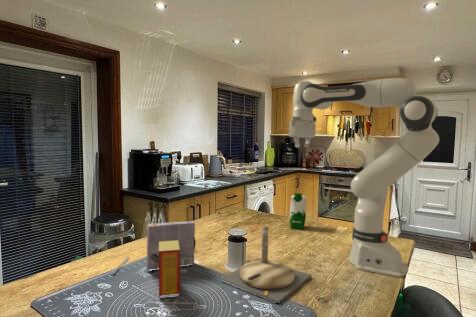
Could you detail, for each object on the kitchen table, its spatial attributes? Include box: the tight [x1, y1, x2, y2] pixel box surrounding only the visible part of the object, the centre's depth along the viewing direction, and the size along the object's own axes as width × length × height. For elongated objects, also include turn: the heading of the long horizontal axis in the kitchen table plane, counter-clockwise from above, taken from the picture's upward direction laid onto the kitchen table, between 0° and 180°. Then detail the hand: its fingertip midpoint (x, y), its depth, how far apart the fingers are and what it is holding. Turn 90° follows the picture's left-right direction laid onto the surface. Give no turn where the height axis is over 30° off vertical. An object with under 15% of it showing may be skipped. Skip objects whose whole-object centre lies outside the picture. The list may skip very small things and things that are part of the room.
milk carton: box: [289, 192, 307, 231], centre depth 177 cm, size 9×9×20 cm
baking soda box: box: [158, 240, 181, 296], centre depth 104 cm, size 10×6×16 cm
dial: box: [240, 225, 295, 289], centre depth 113 cm, size 20×20×16 cm
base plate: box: [220, 257, 312, 303], centre depth 114 cm, size 24×24×1 cm
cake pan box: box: [146, 220, 197, 271], centre depth 123 cm, size 19×5×18 cm, turn 111°
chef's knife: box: [117, 256, 131, 268], centre depth 125 cm, size 19×1×3 cm
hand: (302, 147), depth 145 cm, fingers open, 8 cm apart
